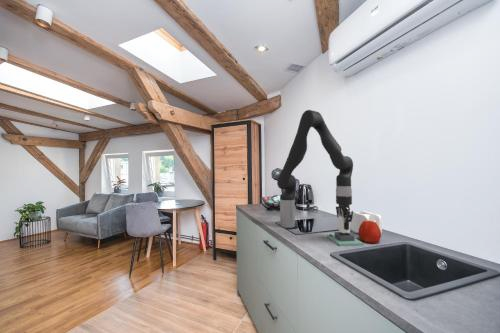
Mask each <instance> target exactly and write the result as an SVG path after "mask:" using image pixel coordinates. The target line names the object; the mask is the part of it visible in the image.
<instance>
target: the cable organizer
mask: <svg viewBox="0 0 500 333" xmlns="http://www.w3.org/2000/svg"><path fill="white" fill-rule="evenodd" d="M363 221H374V222H375V223H376V224H377V225H378V226H379V228H380V230H381V235H382V233H383V218H382V216H381V215H380V214H379V213H378V214H377V213H374V212H370V211H367V210H362V211H360V213H359V212H356V211H353V217H352V222H350V231H352V232H353V233H355V234H358V232H359V227H360V225H361V224H362V222H363Z"/></svg>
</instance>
